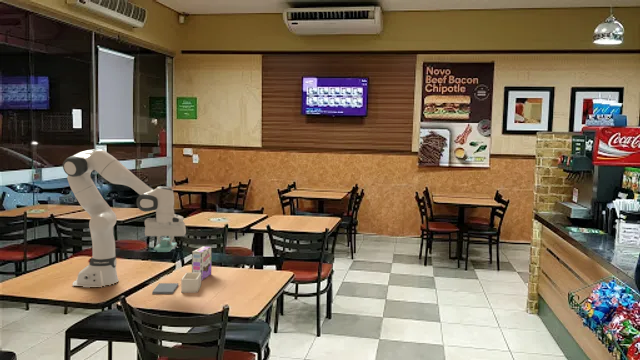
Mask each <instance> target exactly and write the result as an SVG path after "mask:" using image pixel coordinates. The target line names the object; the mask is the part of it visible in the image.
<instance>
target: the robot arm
mask: <svg viewBox="0 0 640 360" xmlns="http://www.w3.org/2000/svg"><path fill="white" fill-rule="evenodd" d="M62 169H63V171H64V173H65V174H66V175H67V177H66V179H67V183H68V185H69V187H70V189H71V192H72V193H73V195H74V197H75V199H76V200H77V202H78V203H79V205H80V206H81V208H82V209H84V211H85V212H86V213H87V214H88V215H89V217H90V219H89V223H88V224H89V225H88V228H89V232H90V237H91V244H92V256H90V258H89V259H88V261H87V263H88V265H87V266H85V267H84V268H83V269H81V270H80V271H79V272H78V274H77V278H76V280H74V281H73V282H72V285H73V286H72V287H74V286H83V287H82V288H90V287H101V286H104V287H106V286H105V285H109V286H111V285H110V284H113V285H115V284H114V283H116V282H118V281H120V279H119V278H118V277H119V276H118V273H117V256H116V241H115V237H114V227H115V225H116V223H117V220H118V218H117V215H116V212H115V211H113V208H111V206H110V205H109V204H108V202H107V201H106V200H105V199H104V198H103V196H102V194H101V193H100V191H99V189H98V188H97V186H96V184H95V182H94V181H93V179H92V177H91V174H92V173H95V172H97V173H98V174H99V175H100V176H101V177H102V178H103V179H105V180H106V181H108V182H109V183H111V184H113V185H122V186H126V187H129V188H131V189H132V190H134V191H135V193H137V194H138V197H137V199H136V207H137V208H138V210H140V211H141V212H146V213H147V212H151V211H155V214H156V215H155V217H147V218H146V219H145V220H144V226H145V227H144V235H145V236H146V237H156V239H157V241H158V242H159V243H158V244H159V245H161V240H162V239H161V238H162V237H169V238H170V241H168V245H171V244H172V243H173V240H174V238H175V237H185V236H186V234H187V229H186V228H187V227H186V223H185V221H184V216H182V215H179V214H176V213H175V209H174V206H175V196H174V195H175V194H174V190H173V189H172V188H171V187H169V186H165V185H163V186H161V185H160V186H157V187H156V188H153V187H151V186H150V185H148V184H147V183H145V182H144V181H143V180H142V179H140V177H138V176H137V175H136V174H134V173H133V172H132V171H130V170H129V169H128V168H127V167H126V166H125V165H123V164H122V163H121V161H119V160H118V159H117V158H116V157H114V156H113V155H112V154H110V153H109V152H108V151H106V150H104V149H94V148H93V149H92V148H91V149H87V150H83V151H79V152H77V153H75V154H73V155H71V156H69V157H66V159H64V161H63V163H62ZM118 283H119V282H118ZM116 284H117V283H116ZM101 288H102V287H101Z"/></svg>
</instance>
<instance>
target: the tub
mask: <svg viewBox="0 0 640 360" xmlns="http://www.w3.org/2000/svg"><path fill="white" fill-rule="evenodd" d="M180 283H181V285H180V286H181V288H180V289H181V293H182V294H183V293H184V294H185V293H187V294H188V293H189V294H192V293H194V294H197V293H198V292H199V290H200V288H201V287H202V281H201V273H192V272H185V274H184V275H183V276H182V277H181V282H180Z"/></svg>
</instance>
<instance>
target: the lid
mask: <svg viewBox="0 0 640 360" xmlns="http://www.w3.org/2000/svg"><path fill="white" fill-rule="evenodd" d="M170 240H171V238H170V237H163V238H162V239H161V245H159V243H158V244H157V245H155V246H154V247H153V251H156V252H157V253H168V252H171V251H172V250H173V249H174V248H175V247H176V246H177V245H178V243H177V242H172V244H171V245H168V241H170Z"/></svg>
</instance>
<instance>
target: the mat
mask: <svg viewBox="0 0 640 360" xmlns="http://www.w3.org/2000/svg"><path fill="white" fill-rule="evenodd" d="M178 286H179V283H177V282H176V283H175V282H173V283H172V282H167V283H166V282H163V283H158V284H157V286H156V287H155V288H154V289H153V290H152V292H151V294H152V295H173V294H174V293H175V292H176V290H177V288H178Z"/></svg>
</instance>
